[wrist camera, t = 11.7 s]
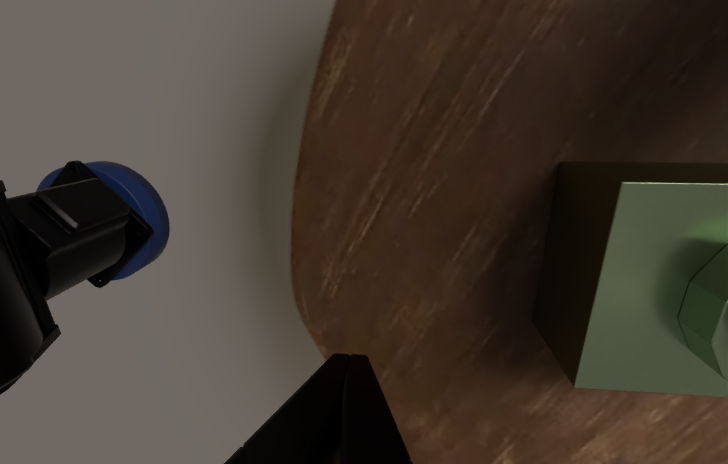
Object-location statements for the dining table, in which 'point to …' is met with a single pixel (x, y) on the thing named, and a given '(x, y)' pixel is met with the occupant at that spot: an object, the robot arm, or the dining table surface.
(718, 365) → the push button box
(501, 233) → the dining table surface
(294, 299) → the dining table surface
